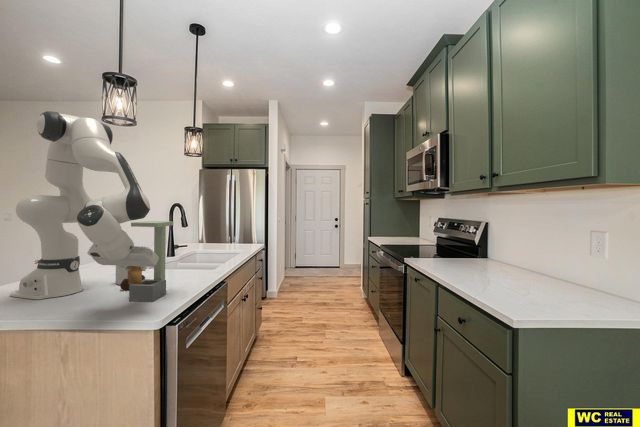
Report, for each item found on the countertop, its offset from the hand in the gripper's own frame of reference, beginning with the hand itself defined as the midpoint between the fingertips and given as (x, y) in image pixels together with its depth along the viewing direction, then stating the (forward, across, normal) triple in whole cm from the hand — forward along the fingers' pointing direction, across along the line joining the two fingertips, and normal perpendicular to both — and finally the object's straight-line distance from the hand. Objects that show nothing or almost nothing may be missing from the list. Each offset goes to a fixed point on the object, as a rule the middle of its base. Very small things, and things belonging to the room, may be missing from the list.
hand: (136, 269), depth 106 cm
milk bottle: (+27, +22, -9) cm, 36 cm away
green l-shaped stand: (+16, 0, +2) cm, 16 cm away
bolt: (+25, +15, -6) cm, 30 cm away
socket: (+14, 0, +4) cm, 14 cm away
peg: (+3, 0, +4) cm, 5 cm away
